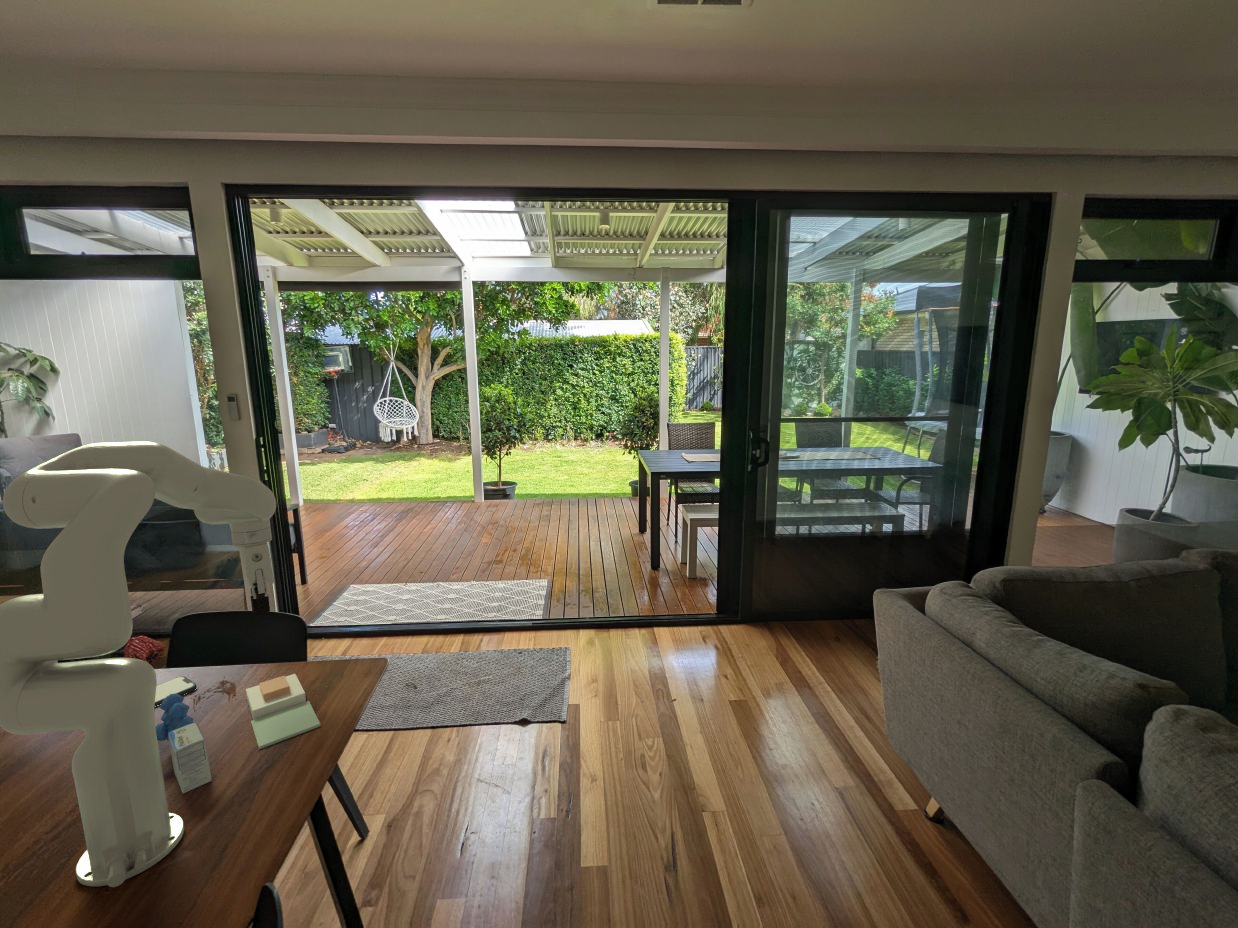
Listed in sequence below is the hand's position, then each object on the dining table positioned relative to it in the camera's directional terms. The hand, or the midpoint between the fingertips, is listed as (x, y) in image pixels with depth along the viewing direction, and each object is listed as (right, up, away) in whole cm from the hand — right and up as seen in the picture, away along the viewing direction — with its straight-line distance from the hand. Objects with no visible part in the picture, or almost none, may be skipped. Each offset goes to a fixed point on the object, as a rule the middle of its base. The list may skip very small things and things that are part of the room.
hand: (261, 611), depth 127 cm
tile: (+5, -17, -3) cm, 18 cm away
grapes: (-3, -23, -21) cm, 31 cm away
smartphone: (-24, -21, -2) cm, 32 cm away
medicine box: (+5, -24, -27) cm, 36 cm away
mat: (+13, -21, -12) cm, 27 cm away
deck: (+5, -20, -3) cm, 21 cm away
